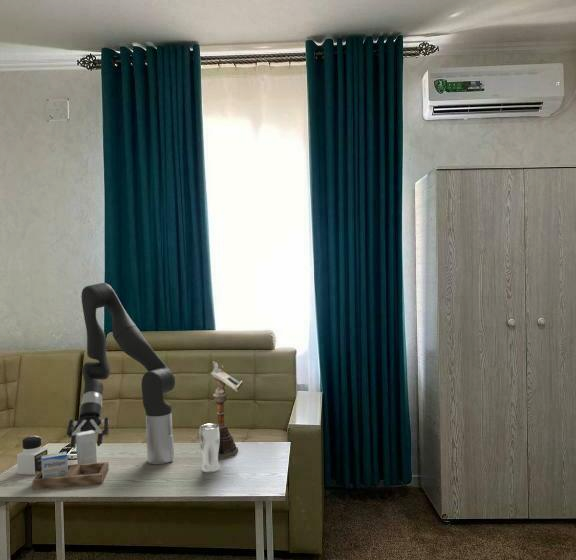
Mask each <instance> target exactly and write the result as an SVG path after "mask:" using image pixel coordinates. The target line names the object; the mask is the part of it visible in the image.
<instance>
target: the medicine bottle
mask: <svg viewBox="0 0 576 560" xmlns="http://www.w3.org/2000/svg"><path fill="white" fill-rule="evenodd" d="M42 445H43V444H42V437H41V436H38V435H32V436H27V437H24V438H23V439H22V451H21V452H19V453H17V454H16V460H17V461H16V462H17V475H24V476H25V475H29V476H30V475H32V476H37V475H38V474H39V472H40V471H41V470H42V463H41V456H43V455H49V454H48V448H46V447H44V448H42Z"/></svg>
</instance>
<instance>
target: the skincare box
mask: <svg viewBox="0 0 576 560" xmlns="http://www.w3.org/2000/svg"><path fill="white" fill-rule="evenodd" d="M75 448H76V460H77V461H76V462H77V464H86V463H98V458H97V439H96V431H95V430H94V431H93V430H90V431H85V432H79V433H76V447H75Z"/></svg>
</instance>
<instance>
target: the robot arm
mask: <svg viewBox="0 0 576 560" xmlns="http://www.w3.org/2000/svg"><path fill="white" fill-rule="evenodd" d="M80 297H81V305H82V312H83V317H84V324H85V329H86V355H87V357H88V358H89V359H92V360H96V361H87V362H85V363H84V365H82V369H81V371H82V377H83V383H84V386H83V387H84V389H83V393H82V394H83V396H82V399H81V404H80V411H79V417H78V419H77V420H73V419H69V423H68V425H67V430H66V436H67V438H71V440H70V445H71V447H72V449H75V448H77V447H76V433H79V432H85V431H90V430H93V431H94V432H95V433H97V439H96V447H100V446H101V445H102V444H103V437H104V436H108V435H109V432H110V431H109V426H110V421H109V417H104V418H101V417H102V409H103V393H104V383H103V382H101V381H99V380H106V379H108V378H109V377H110V375H111V367H110V363H109V361H108V357H107V351H106V350H107V338H106V334H105V332H104V330H103V328H102V326H101V325H100V323H99V321H98V320H97V309H101V308H106V309H107V311H108V312H109V314H110V315H111V318H112V336H113V339H114V341H115V342H116V343H117V345H118V346H119V348H120V349H121V350H122V352H123V353H125V354H126V355H128V356H129V357H130V358H131V359H133V360H135V361H136V362H138V363H140V364H141V365H142V366H143V367H144V368H145V369H146V372H145V373H144V374H143V376H142V377H141V396H142V397H141V398H142V405H143V408H144V410H145V427H146V428H145V430H146V453H147V455H146V457H147V463H149V464H152V465H164V464H168V463H171V462H174V458H175V454H174V452H175V451H174V450H175V449H174V447H175V446H174V431H173V415H172V414H173V413H172V412H173V411H172V409H173V408H172V405H171V403H168V402H165V399H164V394H166V393H168V392H171V391H172V390H173V389H174V388H175V386H176V378H175V375H174V373H173V372H172V370H171V369H170V368H169V366H167V364H166V363H165V362H164V361H163V359H161V357H160V356H159V355H158V354H157V353H156V352H155V350H154V349H153V348H152V346H151V345H150V343H149V342H148V341H147V339H146V338H145V337H144V335H143V333H142V332H141V331H140V329H139V328H138V327H137V325H136V323H135V322H134V321H133V319H131V317H130V315H129V313H127V311H126V309H125V308H124V306H123V304H122V303H121V301H120V299H119V297H118V295H117V294H116V291H115V290H114V288H112V286H111V285H110V284H108V283H107V282H99V283H95V284H90V285H87V286H84V287H83V289H82V291H81V296H80ZM101 424H102V425H103V426H104V427H103V430H102V429H101V427H100V425H101ZM76 426H77V427H76ZM74 428H75V430H74Z"/></svg>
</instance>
